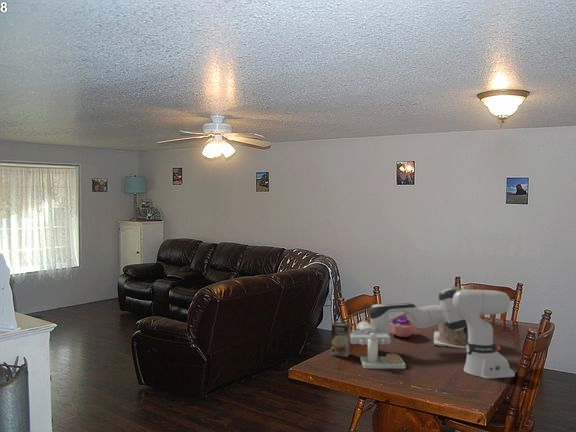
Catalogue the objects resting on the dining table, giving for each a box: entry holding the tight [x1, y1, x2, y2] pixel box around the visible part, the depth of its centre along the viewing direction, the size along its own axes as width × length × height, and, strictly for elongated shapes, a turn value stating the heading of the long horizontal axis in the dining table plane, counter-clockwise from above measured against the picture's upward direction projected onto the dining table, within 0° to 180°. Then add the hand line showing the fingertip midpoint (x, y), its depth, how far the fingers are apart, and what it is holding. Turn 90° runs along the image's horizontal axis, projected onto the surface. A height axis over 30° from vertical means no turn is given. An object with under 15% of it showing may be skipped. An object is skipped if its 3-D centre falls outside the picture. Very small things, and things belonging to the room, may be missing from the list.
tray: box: [359, 355, 407, 370], centre depth 251 cm, size 20×12×2 cm, turn 91°
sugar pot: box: [385, 353, 400, 364], centre depth 251 cm, size 6×6×6 cm
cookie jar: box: [433, 285, 468, 349], centre depth 290 cm, size 25×25×32 cm
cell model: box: [389, 315, 417, 338], centre depth 302 cm, size 17×20×11 cm
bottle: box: [366, 333, 379, 364], centre depth 250 cm, size 5×5×14 cm
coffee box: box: [330, 321, 351, 358], centre depth 266 cm, size 9×6×16 cm
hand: (372, 343), depth 250 cm, fingers open, 8 cm apart
